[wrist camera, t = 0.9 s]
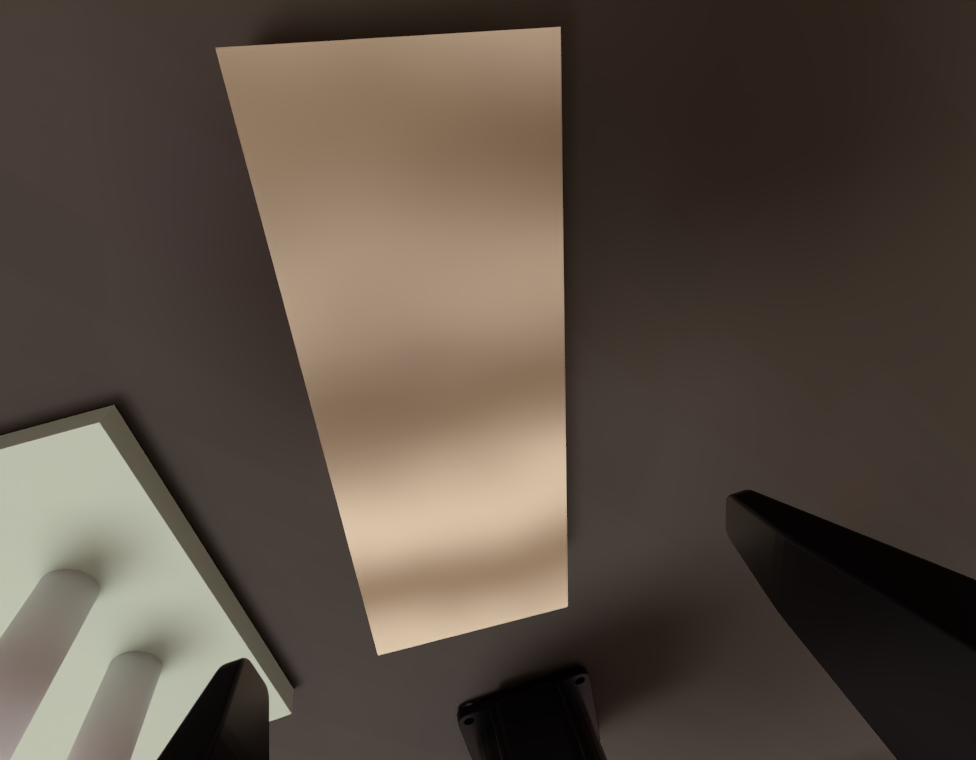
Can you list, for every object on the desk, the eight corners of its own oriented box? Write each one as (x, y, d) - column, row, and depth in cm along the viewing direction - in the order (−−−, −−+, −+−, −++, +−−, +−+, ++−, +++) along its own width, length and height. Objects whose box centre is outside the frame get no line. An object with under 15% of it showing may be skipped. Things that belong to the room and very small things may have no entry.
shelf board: (542, 549, 22) (567, 606, 19) (374, 588, 21) (378, 655, 18) (521, 45, 14) (560, 26, 11) (244, 64, 13) (215, 47, 10)
